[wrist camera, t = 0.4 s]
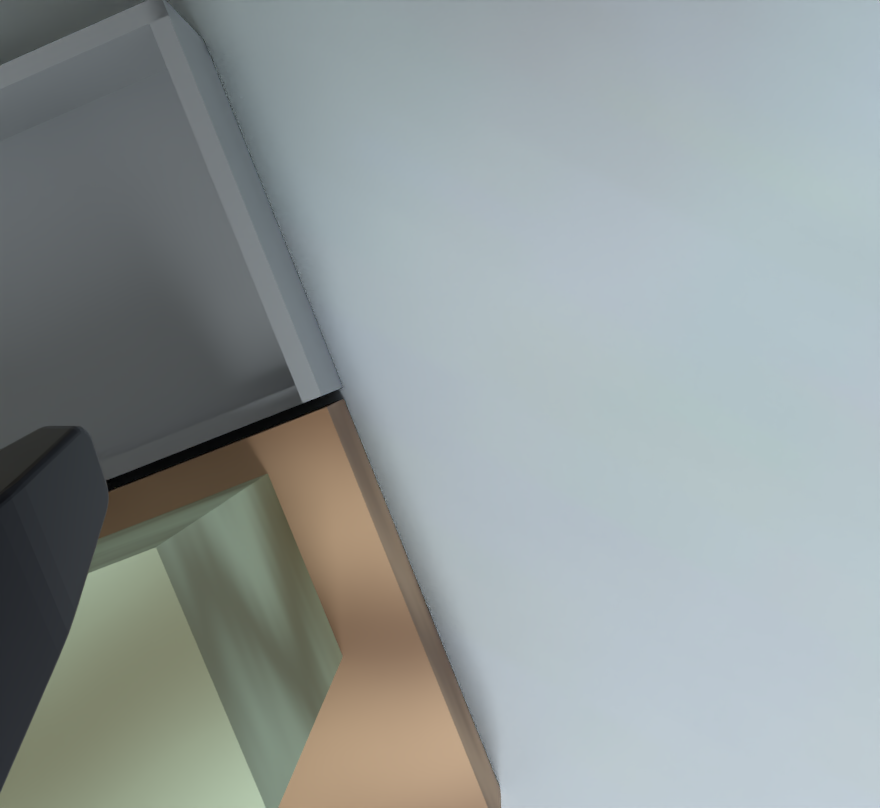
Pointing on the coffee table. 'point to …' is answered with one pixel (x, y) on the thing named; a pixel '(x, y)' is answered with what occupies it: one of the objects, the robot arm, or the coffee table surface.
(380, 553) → the tan square tile
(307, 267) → the coffee table surface
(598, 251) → the coffee table surface
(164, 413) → the box
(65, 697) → the block
